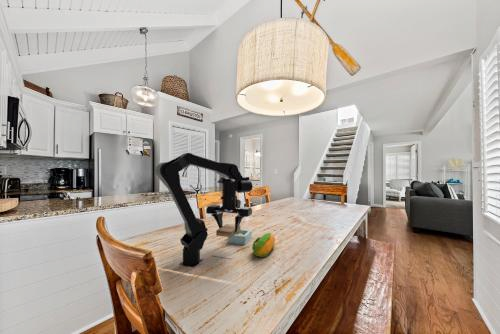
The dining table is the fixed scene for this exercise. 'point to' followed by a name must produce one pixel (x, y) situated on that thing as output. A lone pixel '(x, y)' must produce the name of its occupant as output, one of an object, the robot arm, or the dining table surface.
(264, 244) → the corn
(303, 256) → the dining table surface
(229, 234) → the board
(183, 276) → the dining table surface
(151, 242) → the dining table surface
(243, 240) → the dish
